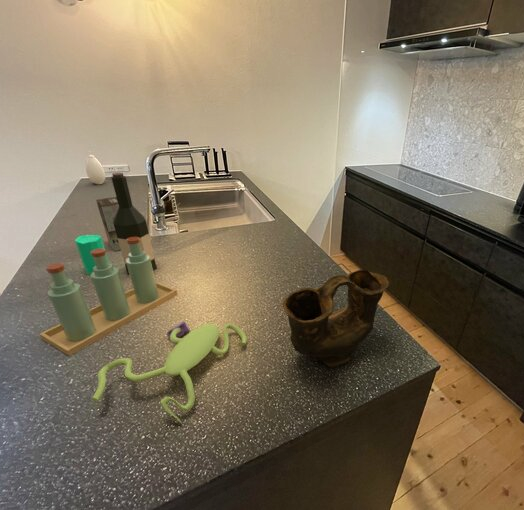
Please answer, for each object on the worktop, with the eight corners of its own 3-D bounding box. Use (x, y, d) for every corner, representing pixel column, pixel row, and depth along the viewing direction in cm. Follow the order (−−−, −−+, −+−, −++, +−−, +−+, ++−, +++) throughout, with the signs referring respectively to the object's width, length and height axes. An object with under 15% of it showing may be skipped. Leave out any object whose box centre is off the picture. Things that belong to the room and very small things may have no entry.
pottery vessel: (360, 319, 82) (369, 253, 73) (388, 343, 74) (402, 274, 65) (275, 356, 68) (272, 281, 59) (299, 391, 60) (301, 311, 51)
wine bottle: (147, 261, 100) (125, 168, 86) (163, 269, 97) (142, 174, 83) (120, 271, 94) (91, 173, 80) (135, 280, 90) (108, 179, 76)
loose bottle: (62, 343, 66) (31, 273, 58) (71, 328, 70) (44, 261, 62) (91, 339, 68) (65, 270, 60) (99, 324, 72) (75, 258, 64)
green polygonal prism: (81, 271, 92) (67, 235, 86) (100, 263, 97) (89, 228, 92) (96, 276, 91) (83, 239, 85) (115, 266, 96) (104, 231, 90)
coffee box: (135, 246, 108) (124, 203, 101) (113, 251, 104) (100, 206, 97) (128, 238, 114) (117, 196, 107) (107, 242, 110) (94, 199, 103)
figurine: (82, 407, 54) (72, 385, 52) (190, 318, 77) (186, 300, 75) (168, 442, 50) (162, 420, 47) (254, 336, 73) (253, 318, 70)
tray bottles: (113, 323, 73) (92, 258, 65) (100, 316, 75) (77, 252, 67) (163, 296, 84) (150, 237, 76) (150, 290, 85) (135, 232, 77)
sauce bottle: (107, 185, 169) (97, 151, 161) (89, 186, 165) (79, 151, 157) (108, 181, 175) (99, 149, 167) (91, 182, 171) (81, 149, 163)
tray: (70, 357, 63) (67, 350, 63) (42, 340, 67) (39, 333, 66) (177, 295, 85) (176, 289, 84) (152, 285, 89) (151, 279, 88)
